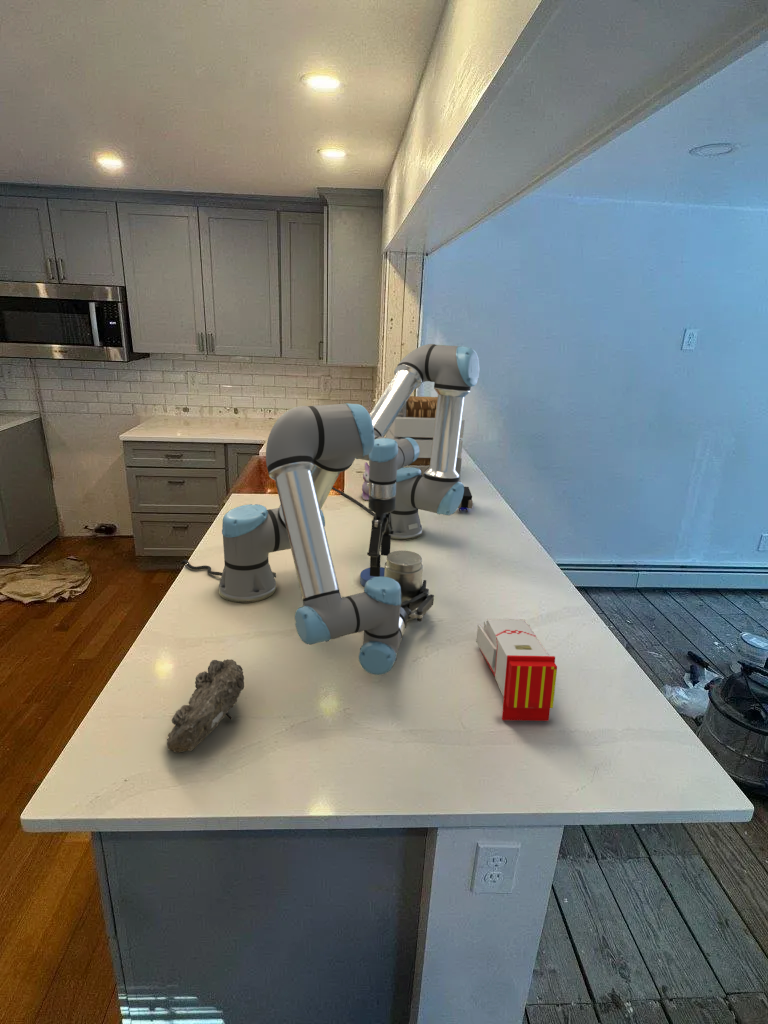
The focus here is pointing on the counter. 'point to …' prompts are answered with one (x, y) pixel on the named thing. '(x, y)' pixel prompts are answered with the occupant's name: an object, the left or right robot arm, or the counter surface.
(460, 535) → the counter surface
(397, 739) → the counter surface
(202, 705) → the fossil
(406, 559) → the jar
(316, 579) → the left robot arm
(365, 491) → the figurine
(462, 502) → the figurine character
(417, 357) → the right robot arm
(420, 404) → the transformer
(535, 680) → the toy
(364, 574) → the lid
